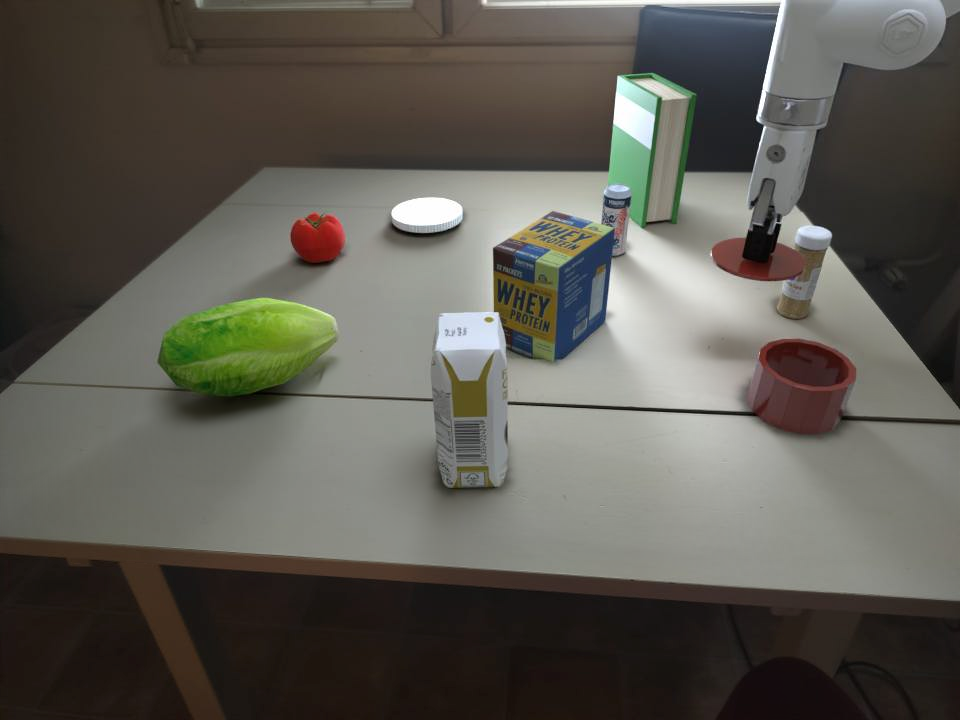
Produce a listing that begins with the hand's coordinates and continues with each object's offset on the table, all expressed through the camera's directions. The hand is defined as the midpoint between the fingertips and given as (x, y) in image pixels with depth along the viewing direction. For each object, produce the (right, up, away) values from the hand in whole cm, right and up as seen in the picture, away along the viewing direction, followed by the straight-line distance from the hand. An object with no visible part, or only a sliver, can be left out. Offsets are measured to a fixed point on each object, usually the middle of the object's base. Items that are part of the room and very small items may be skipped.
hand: (758, 254), depth 86 cm
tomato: (-65, +5, +36) cm, 74 cm away
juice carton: (-37, -26, -10) cm, 46 cm away
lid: (0, -1, 0) cm, 1 cm away
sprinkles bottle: (+12, -6, +16) cm, 21 cm away
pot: (+3, -20, -3) cm, 21 cm away
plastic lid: (-46, +14, +47) cm, 67 cm away
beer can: (-12, +6, +35) cm, 37 cm away
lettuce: (-66, -17, +5) cm, 68 cm away
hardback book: (-3, +17, +50) cm, 53 cm away
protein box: (-25, -10, +13) cm, 30 cm away
